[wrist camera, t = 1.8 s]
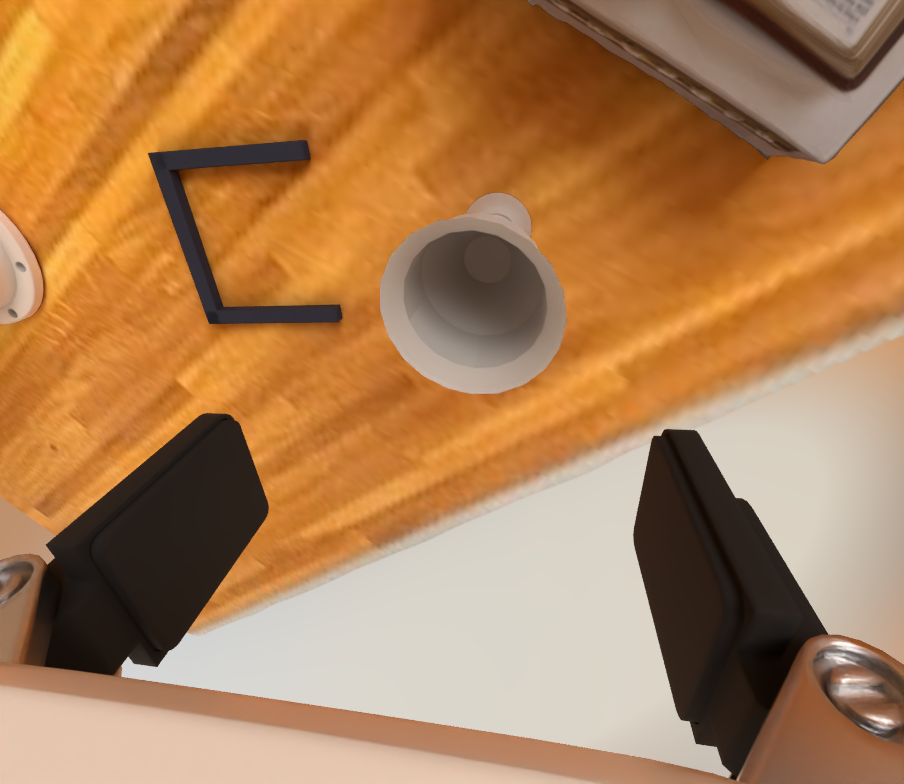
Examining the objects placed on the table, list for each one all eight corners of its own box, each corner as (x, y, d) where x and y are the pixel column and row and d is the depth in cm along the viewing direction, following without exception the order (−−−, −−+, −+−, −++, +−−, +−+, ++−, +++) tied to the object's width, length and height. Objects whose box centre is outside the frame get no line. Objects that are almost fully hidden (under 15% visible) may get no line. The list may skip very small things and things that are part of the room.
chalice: (430, 237, 33) (348, 324, 18) (485, 154, 30) (443, 170, 14) (506, 295, 34) (491, 423, 19) (566, 222, 31) (608, 304, 16)
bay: (215, 320, 39) (208, 324, 38) (157, 152, 33) (147, 153, 32) (342, 318, 37) (338, 322, 37) (307, 140, 31) (301, 140, 30)
